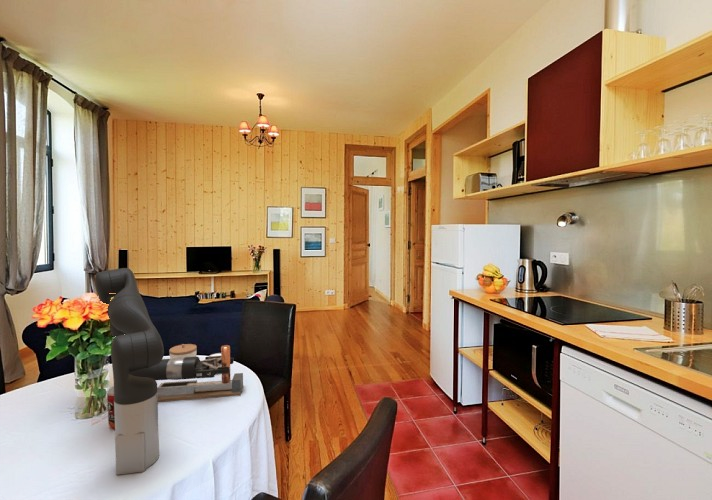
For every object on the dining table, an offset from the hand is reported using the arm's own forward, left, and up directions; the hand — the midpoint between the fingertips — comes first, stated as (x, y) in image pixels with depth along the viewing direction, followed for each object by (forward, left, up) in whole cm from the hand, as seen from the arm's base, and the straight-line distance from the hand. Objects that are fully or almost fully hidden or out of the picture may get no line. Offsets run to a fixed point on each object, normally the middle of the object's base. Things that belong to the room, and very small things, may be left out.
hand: (231, 365), depth 123 cm
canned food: (-15, +29, -10) cm, 34 cm away
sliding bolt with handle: (0, +6, -9) cm, 10 cm away
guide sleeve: (0, +18, -9) cm, 20 cm away
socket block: (0, -2, -9) cm, 9 cm away
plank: (0, +10, -10) cm, 14 cm away
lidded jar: (+29, +25, -10) cm, 40 cm away
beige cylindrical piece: (+19, +9, -10) cm, 23 cm away
